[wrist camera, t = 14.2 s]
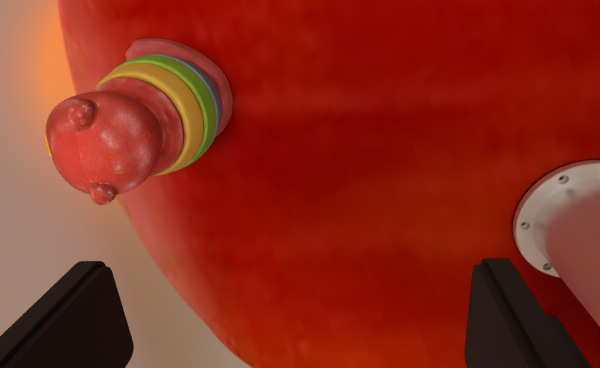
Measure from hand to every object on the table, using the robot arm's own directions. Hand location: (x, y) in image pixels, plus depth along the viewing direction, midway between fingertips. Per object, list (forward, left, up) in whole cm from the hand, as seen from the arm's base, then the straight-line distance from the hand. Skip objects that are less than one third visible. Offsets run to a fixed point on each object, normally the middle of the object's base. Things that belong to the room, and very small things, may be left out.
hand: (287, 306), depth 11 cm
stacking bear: (+14, 0, -31) cm, 34 cm away
